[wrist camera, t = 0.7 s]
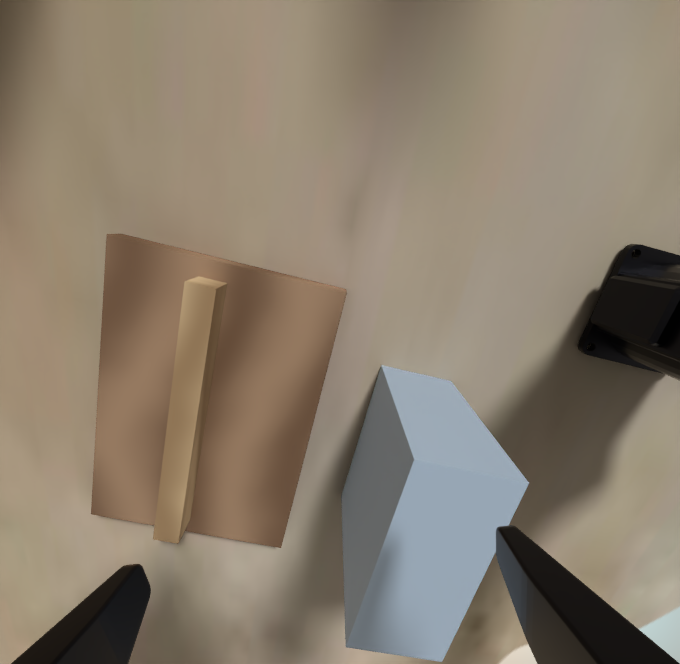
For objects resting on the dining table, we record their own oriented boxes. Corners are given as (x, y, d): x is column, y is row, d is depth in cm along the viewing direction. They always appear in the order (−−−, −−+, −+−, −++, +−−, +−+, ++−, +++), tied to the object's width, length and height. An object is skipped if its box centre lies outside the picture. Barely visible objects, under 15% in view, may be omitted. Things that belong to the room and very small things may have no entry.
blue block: (450, 380, 21) (529, 483, 13) (403, 507, 24) (442, 661, 16) (381, 364, 21) (414, 459, 12) (341, 495, 24) (345, 647, 15)
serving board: (345, 289, 20) (348, 299, 17) (283, 532, 25) (276, 573, 22) (120, 233, 19) (81, 234, 16) (103, 500, 24) (70, 538, 21)
